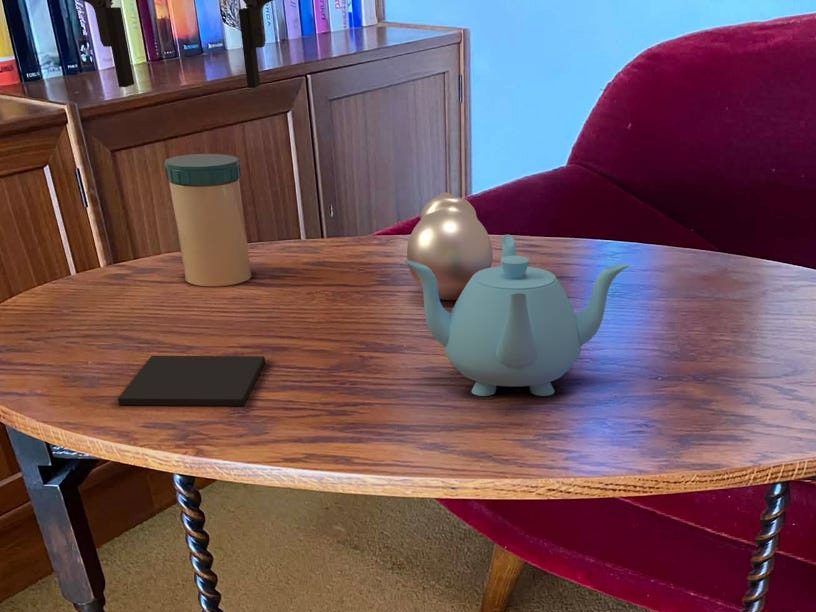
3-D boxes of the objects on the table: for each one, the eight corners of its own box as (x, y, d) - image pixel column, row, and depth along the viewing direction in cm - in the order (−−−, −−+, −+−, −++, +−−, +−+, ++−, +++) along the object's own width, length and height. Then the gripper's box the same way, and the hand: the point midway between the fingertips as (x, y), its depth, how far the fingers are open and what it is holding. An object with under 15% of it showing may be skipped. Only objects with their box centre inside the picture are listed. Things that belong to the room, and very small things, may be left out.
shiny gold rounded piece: (501, 288, 105) (504, 189, 99) (480, 314, 97) (480, 208, 91) (422, 281, 106) (420, 183, 100) (395, 306, 99) (390, 202, 93)
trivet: (118, 405, 77) (117, 398, 77) (152, 361, 85) (151, 355, 85) (243, 406, 77) (242, 399, 77) (265, 362, 85) (264, 356, 85)
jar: (178, 286, 104) (158, 171, 98) (194, 268, 110) (176, 158, 103) (244, 286, 104) (229, 171, 98) (256, 269, 110) (243, 159, 103)
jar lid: (158, 184, 98) (155, 166, 97) (177, 170, 104) (174, 153, 103) (232, 185, 98) (230, 166, 97) (246, 171, 104) (244, 154, 103)
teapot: (405, 380, 82) (400, 257, 76) (511, 343, 90) (513, 229, 84) (515, 422, 75) (519, 290, 69) (620, 379, 83) (631, 256, 77)
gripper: (-10, -205, 80) (55, 89, 93) (280, -203, 81) (306, 91, 93) (24, -195, 87) (81, 80, 99) (294, -193, 87) (316, 82, 99)
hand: (190, 86), depth 96 cm, fingers open, 12 cm apart
